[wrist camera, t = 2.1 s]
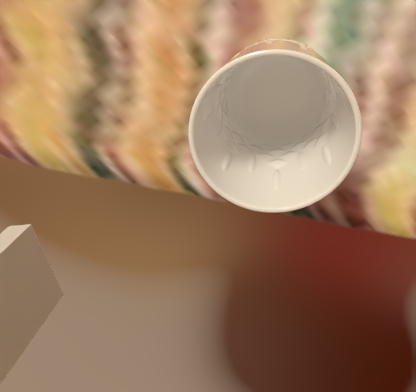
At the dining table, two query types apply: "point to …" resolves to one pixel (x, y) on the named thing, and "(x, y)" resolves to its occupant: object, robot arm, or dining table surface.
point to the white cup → (275, 128)
